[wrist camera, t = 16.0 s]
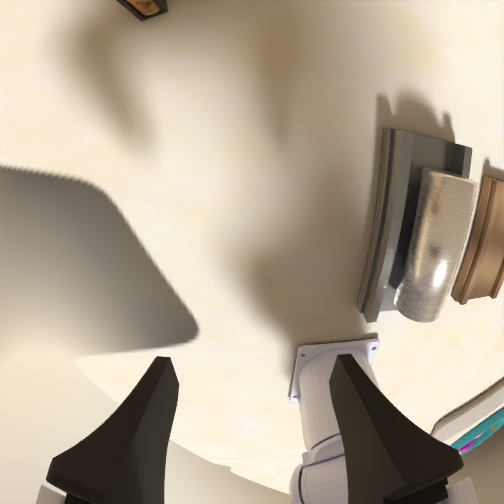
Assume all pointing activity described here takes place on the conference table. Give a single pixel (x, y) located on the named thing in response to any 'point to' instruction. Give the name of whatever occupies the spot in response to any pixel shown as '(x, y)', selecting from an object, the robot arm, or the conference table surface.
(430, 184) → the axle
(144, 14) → the ammunition clip
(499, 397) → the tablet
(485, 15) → the conference table surface
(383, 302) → the cradle
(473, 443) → the teal round ring
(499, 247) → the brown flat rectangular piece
